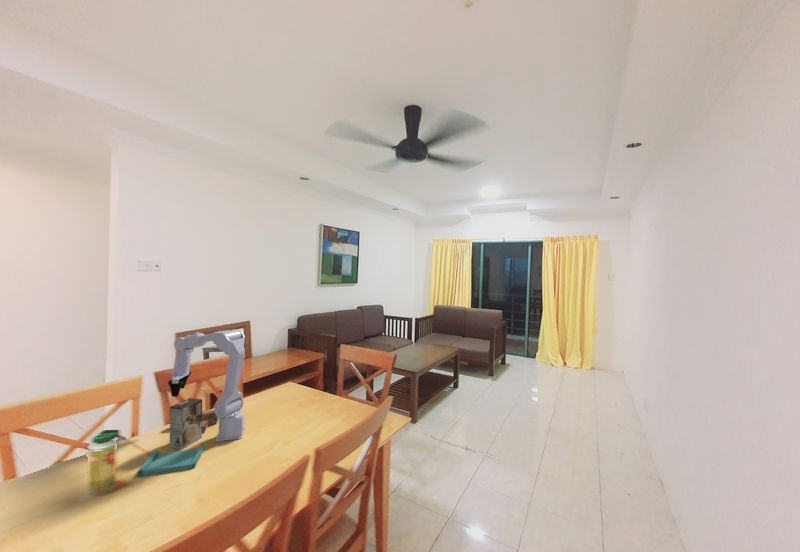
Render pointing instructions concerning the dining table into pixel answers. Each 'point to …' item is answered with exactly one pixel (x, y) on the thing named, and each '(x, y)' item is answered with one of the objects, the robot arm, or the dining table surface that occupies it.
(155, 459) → the tray
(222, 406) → the robot arm
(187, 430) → the coffee box
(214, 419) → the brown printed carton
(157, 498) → the dining table surface
